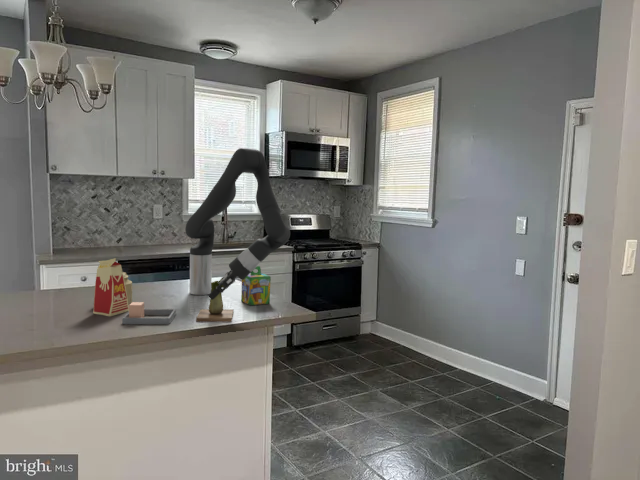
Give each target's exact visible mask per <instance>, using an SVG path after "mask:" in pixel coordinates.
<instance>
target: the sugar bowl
mask: <svg viewBox="0 0 640 480" xmlns="http://www.w3.org/2000/svg"><path fill="white" fill-rule="evenodd" d="M122 272H123V277H124V282H125V287H126V293H127V298H128V305H130V304H131V303H132V302H133V281H132V280H130V279H128V278H129V275H128V274H127V272H124V271H122Z"/></svg>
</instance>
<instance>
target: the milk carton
mask: <svg viewBox="0 0 640 480" xmlns="http://www.w3.org/2000/svg"><path fill="white" fill-rule="evenodd" d="M116 260H117V258H116V257H114V258H111V259H107V260H98V261H97V262H98V263H99V264H98V267H97V268H96V273H95V274H96V276H95V282H94V283H95V284H94V296H93V311H92V312H93V314H94V315H100V316H105V317H113V316H116V315H120V314H124V313H126V312H127V313H128V312H129V305H128V298H127V293H126V287H125V282H124V277H123V272H124V271H123V268H122V264H120V263H119V262H117V261H116Z"/></svg>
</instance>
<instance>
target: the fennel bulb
mask: <svg viewBox="0 0 640 480" xmlns="http://www.w3.org/2000/svg"><path fill="white" fill-rule="evenodd" d="M219 282H220V280H215V281H211V292H212V291H213V290H214V289H215V288H216V287H217V286H218V285H219ZM220 287H221V288H222V285H221V286H220ZM222 289H223V288H222ZM222 295H223V294H222V293H219V294H218V295H217V296H216V297H215V298H214V299H213V300H212V299H210V298H209V299H210V300H209V306H208V309H209V312H210V313H211V314H219V313H222V311H223V309H224V302H223V296H222Z"/></svg>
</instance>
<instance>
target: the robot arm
mask: <svg viewBox="0 0 640 480" xmlns="http://www.w3.org/2000/svg"><path fill="white" fill-rule="evenodd" d="M266 162H267V161H266V158H265V156H264V154H263V153H262V151H261V150H259V149H255V148H249V147H239V148H238V149H236V150H235V152H234V153H233V155H232V156H231V158H230V160H229V161H228V164H227V166H226V168H225V169H224V171H223V173H222V174H221V176H220V178H219V179H218V181H217V182H216V183H215V185H214V186H213V187H212V189H211V190H210V192H209V193H208V195H207V197H206V198H205V199H204V200H203V202H202V203H201V205H200V206H198V208H197V209H196V211H194V213H193V214H192V215H191V216H190V217H189V218H188V220H187V221H186V224H185V228H184V229H185V234H186V236H187V237H188V238H190V239H198V240H199V241H198V242H197V243H196V244H194V245H193V246H191V247H190V248H189V294H190V295H192V296H193V295H195V296H205V295H208V298H209V299H212V300H213V299H214V298H215V297H216V296H217V295H218V294H219V293H221V294H222V293H224V291H225V290H227V289H228V288H229V287H230V286H231V285H232V284H234V283H235V282H236V280H237V279H236V278H237V277H238V279H240V280H241V281H242V280H243V279H245V278H246V277H247V276H248V275H249V274H250V273H251V272H252V271H253V272H254V271H255V270H256V269H255V268H256V267H257V266H260V264H261V263H262V262H263V261H264V260H265V259H266V258H267V257H268V256H269V255H270V254H272V253H274V252H275V251H276V250H278V249H280V248H281V247H283V246H284V245H285V244H286V243H287V242H288V241H289V240H290V238H291V231H290V228H289V227H288V226H287V225H286V224H285V222H284V221H283V218H282V216H281V209H280V207H279V204H278V201H277V200H276V196H275V194H274V193H273V188H272V185H271V180H270V175H269V171H268V167H267V163H266ZM243 173H246V174H253V175H254V178H255V179H256V183H257V189H256V194H255V201H256V205H257V208H258V210H259V212H260V215H261V217H262V221H263V225H264V230H265V232H266V234H267V235H266V236H264V237H263V238H257V239H256V240H254V241H253V242H252V243H251V244H250V245H249V246H248V247H247V248H246V249H244V250H243V251H242V252H240V253H239V255H237V256H236V257H235V258H234V259H233V260H232V261H231V262H230V263H229V264H228V267H229V269H230V270H229V271H227V272H226V273H225V274H224V275H223V276H222V277H221V278H220V279H219V281H220V282H219V285H218V286H217V287H216V288H215V289H214V290H213V291H212V292H211V283H212V280H213V279H212V274H213V273H212V272H213V271H212V270H213V269H212V266H213V265H212V264H213V262H212V261H213V260H212V259H213V257H212V256H213V249H214V241H215V240H214V239H215V223H214V220H213V218H214V217H216V216H218V215H219V214H221V213H223V212H224V211H225V210H227V209H228V208H229V206H230V205H231V204H232V202H233V201H234V200H235V197H236V194H237V187H236V183H237V180H238V179H239V177H240V176H241V175H242V174H243ZM221 285H222V288H221V287H220V286H221Z"/></svg>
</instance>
